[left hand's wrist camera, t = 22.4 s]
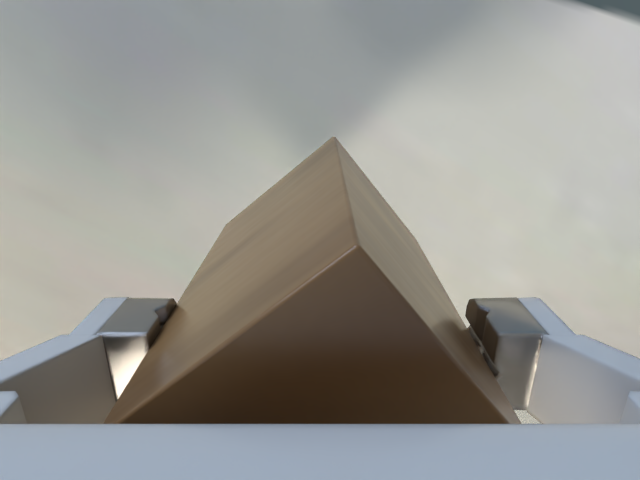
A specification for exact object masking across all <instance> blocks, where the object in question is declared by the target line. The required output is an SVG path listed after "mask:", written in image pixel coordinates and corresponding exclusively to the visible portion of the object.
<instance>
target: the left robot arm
mask: <svg viewBox="0 0 640 480" xmlns="http://www.w3.org/2000/svg"><path fill="white" fill-rule="evenodd" d="M176 305H177V303H176V302H175V300H174V299H171V298H129V297H119V298H104V299H103V300H102V301H101V302H100V303H99V304H98V305H97V306H96V308H95V309H94V310H93V311H92V312H91V313H90V314H89V315H88V316H87V317H86V318H85V319H84V320H83V321H82V322H81V323H80V324H79V325H78V326H77V327H76V328H75V329H74V330H73V331H72V332H71V333H70V334H69V335H60V336H58V337H56V338H53V339H51V340H49V341H46V342H44V343H41V344H39V345H37V346H34V347H32V348H30V349H27V350H25V351H23V352H20V353H18V354H16V355H13V356H11V357H9V358H6V359H4V360H2V361H0V480H640V359H639V358H637V357H634V356H632V355H630V354H627V353H625V352H623V351H620V350H618V349H615V348H613V347H611V346H608V345H606V344H604V343H601V342H599V341H597V340H594V339H592V338H589V337H587V336H585V335H576V334H575V333H574V332H573V331H572V330H571V329H570V328H569V327H568V326H567V325H566V324H565V323H564V322H563V321H562V320H561V319H560V318H559V317H558V316H557V315H556V314H555V313H554V312H553V311H552V310H551V309H550V308H549V307H548V306H547V305H546V304H545V303H544V302H543V301H542V300H541V299H539V298H536V297H528V298H479V299H470V300H469V302H468V305H467V309H466V315H465V316H466V318H467V320H468V321H469V323H470V326H469V327H468V328H467V329H468V331H469V333H470V335H471V336H472V338H473V340H474V342H475V343H476V345H477V347H478V349H479V350H480V352H481V354H482V356H483V357H484V359H485V361H486V363H487V364H488V366H489V368H490V370H491V371H492V373H493V375H494V377H495V378H496V380H497V382H498V384H499V385H500V387H501V389H502V391H503V392H504V394H505V396H506V398H507V399H508V401H509V403H510V405H511V406H512V408H513V410H527V412H528V413H529V414H530V415H532V416H533V417H534V418H535V419H537V420H538V421H539V422H540V423H542V424H103V423H104V421H105V419H106V418H107V416H108V415H109V413H110V411H111V410H112V408H113V406H114V405H115V403H116V402H117V400H118V398H119V397H120V395H121V394H122V392H123V390H124V389H125V387H126V385H127V384H128V382H129V381H130V379H131V377H132V376H133V374H134V373H135V371H136V369H137V368H138V366H139V364H140V363H141V361H142V360H143V358H144V356H145V355H146V353H147V352H148V350H149V349H150V347H151V346H152V344H153V343H154V341H155V339H156V338H157V336H158V335H159V333H160V331H161V329H162V327H163V326H164V324H165V322H166V321H167V320H168V318H169V317H170V315H171V314H172V312H173V310H174V309H175V307H176Z"/></svg>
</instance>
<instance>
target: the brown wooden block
mask: <svg viewBox="0 0 640 480" xmlns="http://www.w3.org/2000/svg"><path fill="white" fill-rule="evenodd" d="M103 424H521V422H520V420H519V419H518V417H517V415H516V413H515V412H514V410H513V408H512V406H511V405H510V403H509V401H508V399H507V398H506V396H505V394H504V392H503V391H502V389H501V387H500V385H499V384H498V382H497V380H496V378H495V377H494V375H493V373H492V371H491V370H490V368H489V366H488V364H487V363H486V361H485V359H484V357H483V356H482V354H481V352H480V350H479V349H478V347H477V345H476V343H475V342H474V340H473V338H472V336H471V335H470V333H469V331H468V329H467V328H466V326H465V324H464V322H463V321H462V319H461V317H460V316H459V314H458V312H457V310H456V309H455V307H454V305H453V303H452V302H451V300H450V298H449V296H448V295H447V293H446V291H445V289H444V288H443V286H442V284H441V282H440V281H439V279H438V277H437V275H436V274H435V272H434V270H433V268H432V267H431V265H430V263H429V261H428V260H427V258H426V256H425V254H424V253H423V251H422V249H421V247H420V246H419V244H418V242H417V240H416V239H415V237H414V236H413V235H412V234H411V232H410V231H409V230H408V228H407V227H406V226H405V225H404V223H403V222H402V221H401V220H400V218H399V217H398V216H397V215H396V213H395V212H394V211H393V209H392V208H391V207H390V206H389V204H388V203H387V202H386V201H385V199H384V198H383V197H382V195H381V194H380V193H379V192H378V190H377V189H376V188H375V187H374V185H373V184H372V183H371V182H370V180H369V179H368V178H367V176H366V175H365V174H364V173H363V171H362V170H361V169H360V168H359V166H358V165H357V164H356V163H355V161H354V160H353V159H352V157H351V156H350V155H349V154H348V152H347V151H346V150H345V149H344V147H343V146H342V145H341V143H340V142H339V141H338V140H337V138H336V137H332V138H331V139H329V140H328V141H327V142H326V143H325V144H323V145H322V146H321V147H320V148H318V149H317V150H316V151H315V152H314V153H312V154H311V155H310V156H309V157H308V158H306V159H305V160H304V161H303V162H301V163H300V164H299V165H298V166H297V167H295V168H294V169H293V170H292V171H291V172H289V173H288V174H287V175H286V176H284V177H283V178H282V179H281V180H280V181H278V182H277V183H276V184H275V185H274V186H272V187H271V188H270V189H269V190H267V191H266V192H265V193H264V194H263V195H261V196H260V197H259V198H258V199H257V200H255V201H254V202H253V203H252V204H250V205H249V206H248V207H247V208H246V209H244V210H243V211H242V212H241V213H240V214H238V215H237V216H236V217H235V218H233V219H232V220H231V221H230V222H229V223H227V224H226V226H225V227H224V229H223V230H222V232H221V234H220V235H219V237H218V238H217V240H216V242H215V243H214V245H213V247H212V248H211V250H210V251H209V253H208V255H207V256H206V258H205V259H204V261H203V263H202V264H201V266H200V268H199V269H198V271H197V272H196V274H195V276H194V277H193V279H192V280H191V282H190V284H189V285H188V287H187V289H186V290H185V292H184V293H183V295H182V297H181V298H180V300H179V301H178V303H177V305H176V307H175V309H174V310H173V312H172V314H171V315H170V317H169V318H168V320H167V321H166V322H165V324H164V326H163V327H162V329H161V331H160V333H159V335H158V336H157V338H156V339H155V341H154V343H153V344H152V346H151V347H150V349H149V350H148V352H147V353H146V355H145V356H144V358H143V360H142V361H141V363H140V364H139V366H138V368H137V369H136V371H135V373H134V374H133V376H132V377H131V379H130V381H129V382H128V384H127V385H126V387H125V389H124V390H123V392H122V394H121V395H120V397H119V398H118V400H117V402H116V403H115V405H114V406H113V408H112V410H111V411H110V413H109V415H108V416H107V418H106V419H105V421H104V423H103Z"/></svg>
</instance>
